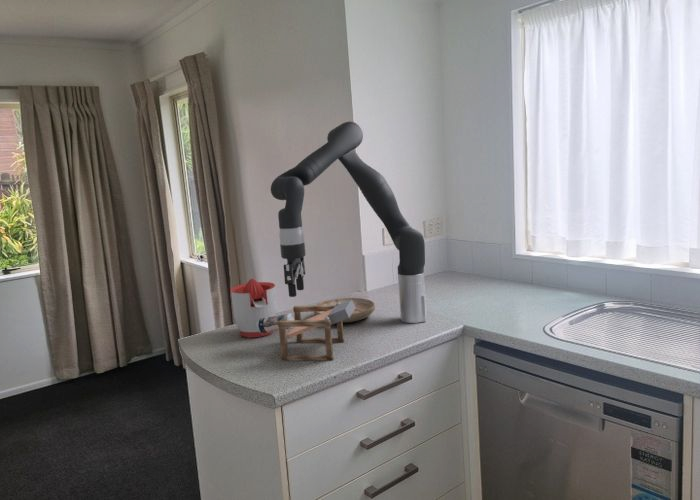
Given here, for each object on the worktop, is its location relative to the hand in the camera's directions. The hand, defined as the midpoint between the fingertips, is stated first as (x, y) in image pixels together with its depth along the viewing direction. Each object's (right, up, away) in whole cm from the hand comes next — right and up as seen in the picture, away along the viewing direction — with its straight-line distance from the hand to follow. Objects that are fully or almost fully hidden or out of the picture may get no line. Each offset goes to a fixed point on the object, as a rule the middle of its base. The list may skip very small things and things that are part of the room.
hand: (296, 293), depth 173 cm
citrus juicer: (-16, -17, +24) cm, 33 cm away
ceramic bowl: (+15, -12, +35) cm, 40 cm away
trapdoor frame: (+5, -18, +2) cm, 19 cm away
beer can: (-2, -9, +2) cm, 9 cm away
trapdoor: (+8, -10, 0) cm, 13 cm away
